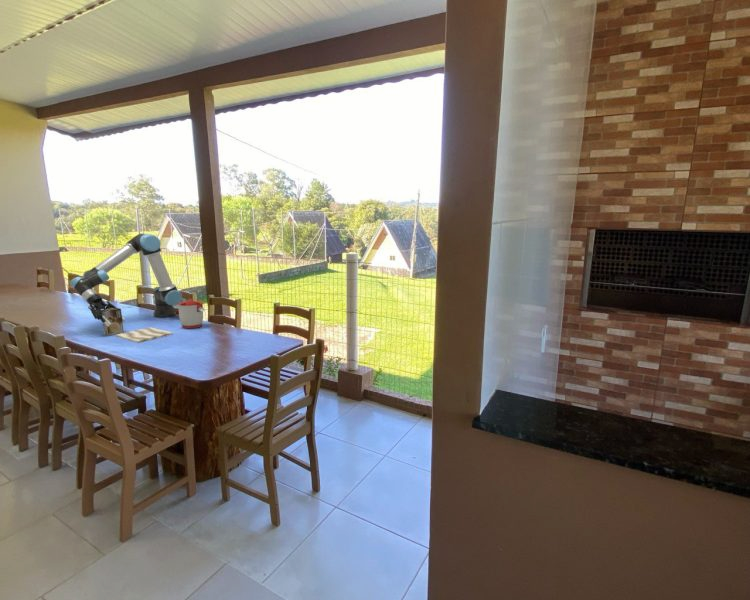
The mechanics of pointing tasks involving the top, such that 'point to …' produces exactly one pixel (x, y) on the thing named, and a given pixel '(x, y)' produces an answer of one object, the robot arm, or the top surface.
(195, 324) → the citrus juicer
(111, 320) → the coffee box
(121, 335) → the striped cloth
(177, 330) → the top surface
